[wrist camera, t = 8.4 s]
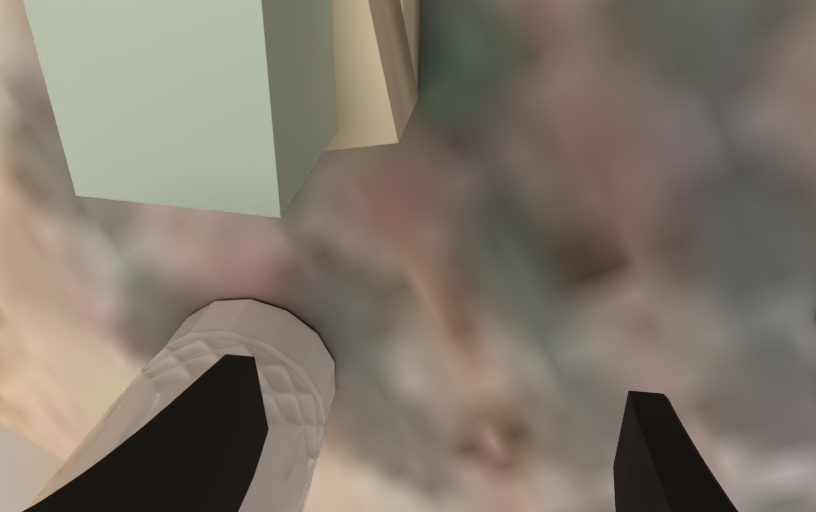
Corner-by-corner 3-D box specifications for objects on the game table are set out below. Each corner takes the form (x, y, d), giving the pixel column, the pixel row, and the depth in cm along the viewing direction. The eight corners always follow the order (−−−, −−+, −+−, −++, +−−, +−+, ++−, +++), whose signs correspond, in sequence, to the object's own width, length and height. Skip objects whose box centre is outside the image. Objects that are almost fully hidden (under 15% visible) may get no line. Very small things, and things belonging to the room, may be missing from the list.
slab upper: (369, -165, 15) (334, -161, 12) (418, 97, 18) (398, 142, 16) (131, -110, 16) (57, -96, 14) (214, 124, 19) (166, 169, 17)
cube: (330, -58, 13) (260, -16, 10) (336, 132, 16) (280, 217, 12) (140, -68, 14) (14, -32, 11) (172, 117, 16) (76, 195, 13)
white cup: (131, 310, 28) (-47, 521, 19) (294, 261, 25) (169, 483, 17) (229, 442, 31) (115, 669, 23) (383, 413, 28) (315, 658, 20)
